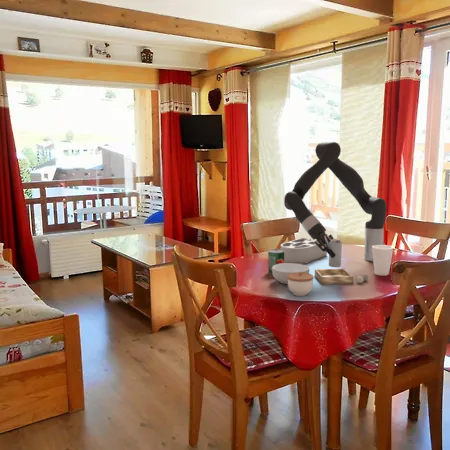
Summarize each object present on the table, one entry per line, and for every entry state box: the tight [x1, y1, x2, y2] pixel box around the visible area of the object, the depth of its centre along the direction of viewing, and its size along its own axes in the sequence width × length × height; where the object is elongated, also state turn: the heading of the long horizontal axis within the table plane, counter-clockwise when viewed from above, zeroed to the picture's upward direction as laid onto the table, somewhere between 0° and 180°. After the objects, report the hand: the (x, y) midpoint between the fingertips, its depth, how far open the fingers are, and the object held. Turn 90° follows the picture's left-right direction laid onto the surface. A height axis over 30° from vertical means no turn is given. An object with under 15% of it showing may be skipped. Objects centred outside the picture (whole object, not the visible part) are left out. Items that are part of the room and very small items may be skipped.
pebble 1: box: [355, 275, 364, 284], centre depth 209 cm, size 3×3×3 cm
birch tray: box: [314, 267, 354, 285], centre depth 216 cm, size 14×14×3 cm
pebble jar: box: [328, 238, 343, 268], centre depth 213 cm, size 5×5×13 cm
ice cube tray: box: [280, 237, 328, 265], centre depth 258 cm, size 17×28×9 cm, turn 140°
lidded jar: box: [287, 272, 314, 297], centre depth 196 cm, size 11×11×9 cm
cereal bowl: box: [271, 262, 310, 285], centre depth 213 cm, size 17×17×7 cm
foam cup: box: [372, 244, 394, 276], centre depth 223 cm, size 10×9×13 cm
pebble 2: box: [360, 273, 369, 282], centre depth 212 cm, size 3×3×3 cm
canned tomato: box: [267, 248, 285, 276], centre depth 229 cm, size 8×8×11 cm
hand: (336, 255), depth 213 cm, fingers closed on pebble jar, 5 cm apart
